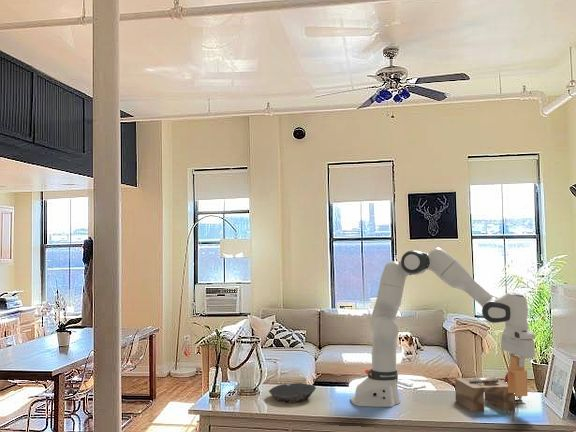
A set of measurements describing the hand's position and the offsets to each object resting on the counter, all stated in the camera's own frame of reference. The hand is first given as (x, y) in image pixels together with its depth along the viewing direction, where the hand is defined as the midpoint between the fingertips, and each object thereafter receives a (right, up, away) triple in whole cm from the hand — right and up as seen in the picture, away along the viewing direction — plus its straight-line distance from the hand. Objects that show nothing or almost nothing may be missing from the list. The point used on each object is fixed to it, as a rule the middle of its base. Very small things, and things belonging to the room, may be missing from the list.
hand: (517, 364), depth 228 cm
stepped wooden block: (0, -12, -1) cm, 12 cm away
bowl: (-95, -22, +23) cm, 100 cm away
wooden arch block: (-10, -21, +12) cm, 26 cm away
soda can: (+7, -22, +21) cm, 31 cm away
